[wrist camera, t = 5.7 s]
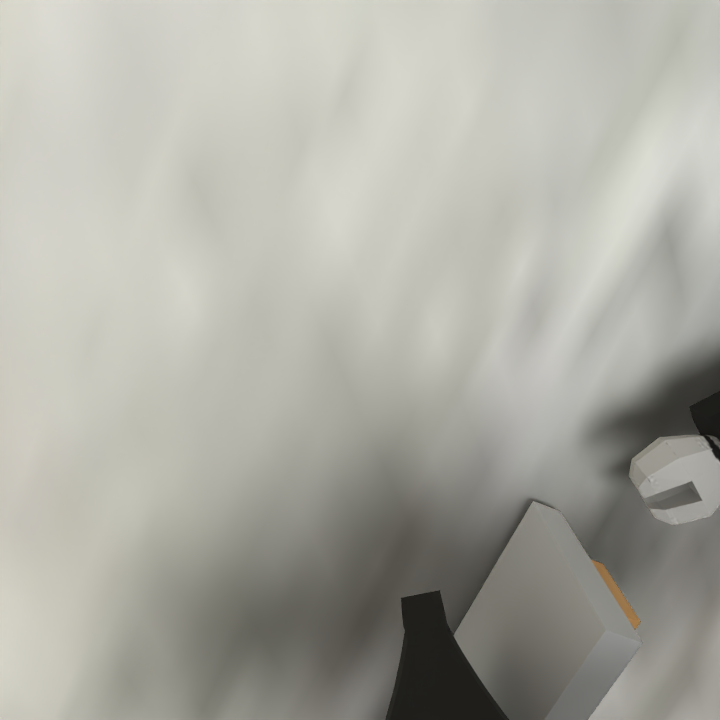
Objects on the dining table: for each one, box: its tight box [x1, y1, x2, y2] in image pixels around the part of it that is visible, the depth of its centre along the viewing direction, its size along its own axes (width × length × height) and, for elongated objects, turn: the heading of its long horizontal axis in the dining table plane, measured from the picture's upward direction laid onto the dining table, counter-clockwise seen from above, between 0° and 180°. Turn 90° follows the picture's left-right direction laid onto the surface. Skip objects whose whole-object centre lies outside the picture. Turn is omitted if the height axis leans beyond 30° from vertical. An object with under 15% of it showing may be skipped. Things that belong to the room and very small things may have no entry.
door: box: [453, 501, 643, 720], centre depth 12 cm, size 1×8×4 cm, turn 157°
